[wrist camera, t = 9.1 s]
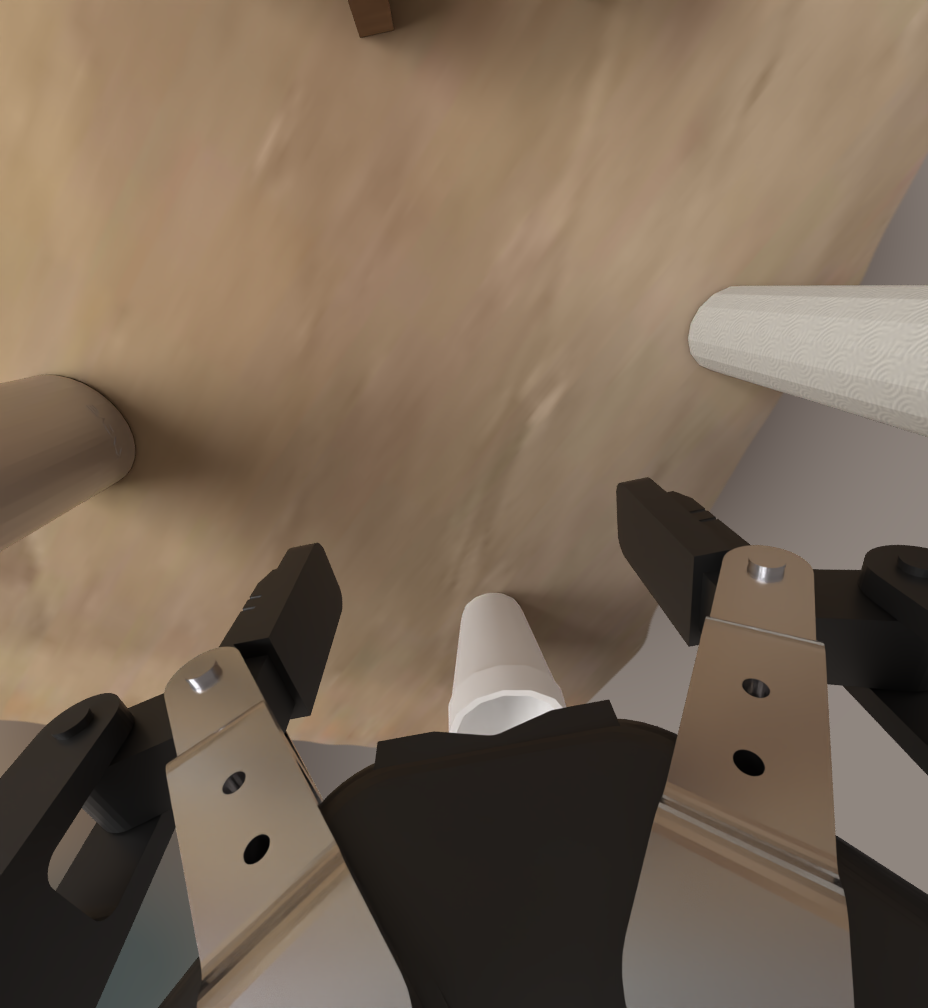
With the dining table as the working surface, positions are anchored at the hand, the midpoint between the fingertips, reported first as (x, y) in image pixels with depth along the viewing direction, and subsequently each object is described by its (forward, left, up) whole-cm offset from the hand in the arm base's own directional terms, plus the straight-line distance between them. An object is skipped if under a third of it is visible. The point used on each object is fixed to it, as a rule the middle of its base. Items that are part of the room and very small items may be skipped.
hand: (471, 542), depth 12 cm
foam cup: (0, -25, -25) cm, 35 cm away
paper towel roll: (+22, -1, -25) cm, 33 cm away
